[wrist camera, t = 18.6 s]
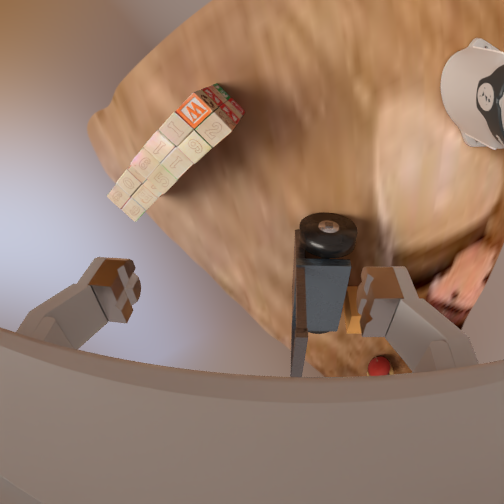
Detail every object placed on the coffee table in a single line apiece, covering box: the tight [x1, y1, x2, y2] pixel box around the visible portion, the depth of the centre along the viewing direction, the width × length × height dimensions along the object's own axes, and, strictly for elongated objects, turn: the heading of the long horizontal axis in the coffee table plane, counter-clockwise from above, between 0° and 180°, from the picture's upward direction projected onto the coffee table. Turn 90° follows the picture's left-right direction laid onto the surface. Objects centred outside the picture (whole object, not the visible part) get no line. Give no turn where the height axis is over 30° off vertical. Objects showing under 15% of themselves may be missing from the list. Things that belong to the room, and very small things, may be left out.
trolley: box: [290, 213, 357, 377], centre depth 47 cm, size 10×21×23 cm, turn 2°
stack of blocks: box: [107, 83, 245, 222], centre depth 40 cm, size 21×6×12 cm, turn 132°
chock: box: [343, 286, 361, 333], centre depth 57 cm, size 5×5×8 cm
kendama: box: [367, 356, 394, 376], centre depth 74 cm, size 8×6×18 cm
